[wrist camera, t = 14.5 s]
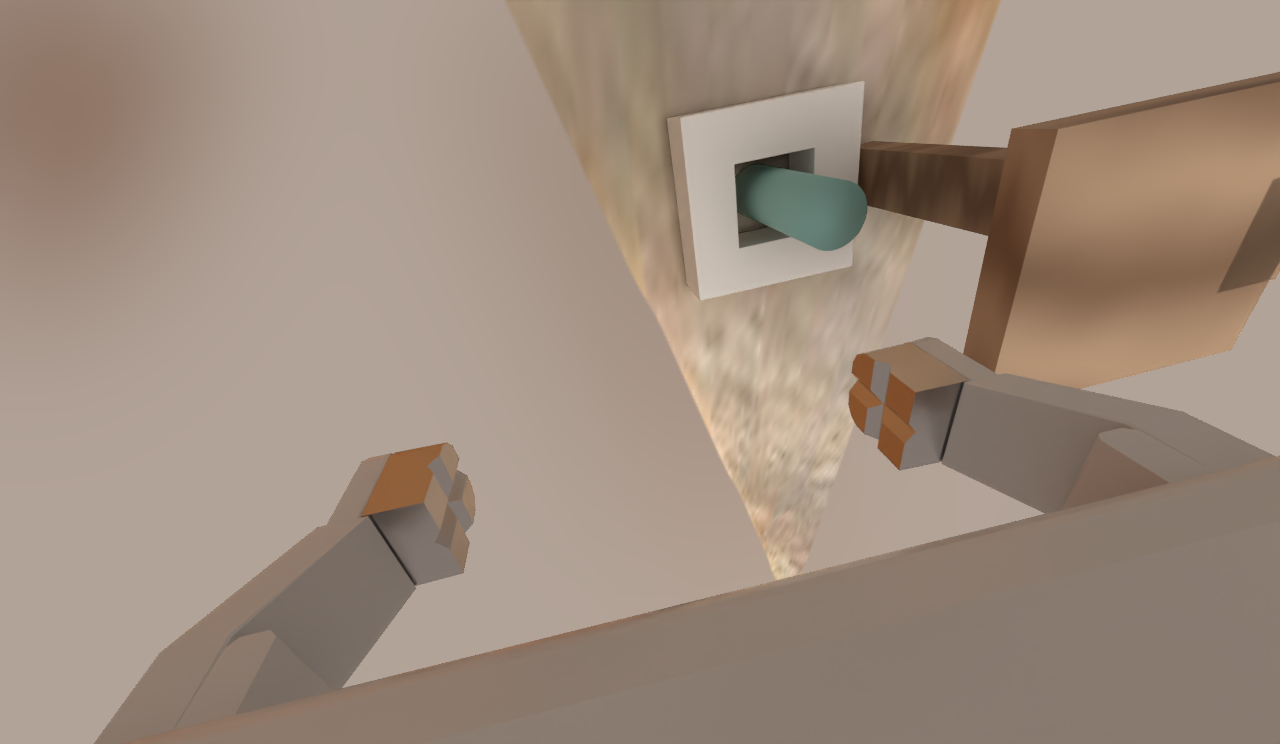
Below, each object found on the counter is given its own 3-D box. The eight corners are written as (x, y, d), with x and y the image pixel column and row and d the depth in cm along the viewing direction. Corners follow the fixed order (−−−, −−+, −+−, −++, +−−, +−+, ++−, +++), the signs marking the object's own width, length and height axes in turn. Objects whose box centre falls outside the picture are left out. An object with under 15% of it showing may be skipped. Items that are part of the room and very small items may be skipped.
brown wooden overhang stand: (739, 126, 34) (1058, 129, 13) (877, 98, 35) (1398, 56, 14) (745, 255, 39) (984, 413, 18) (866, 228, 40) (1236, 348, 19)
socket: (666, 118, 33) (679, 117, 30) (832, 85, 34) (864, 80, 31) (687, 285, 40) (700, 300, 36) (826, 254, 41) (852, 266, 37)
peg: (729, 169, 36) (803, 187, 25) (777, 159, 36) (869, 173, 26) (733, 221, 38) (802, 257, 27) (778, 211, 38) (864, 243, 28)
